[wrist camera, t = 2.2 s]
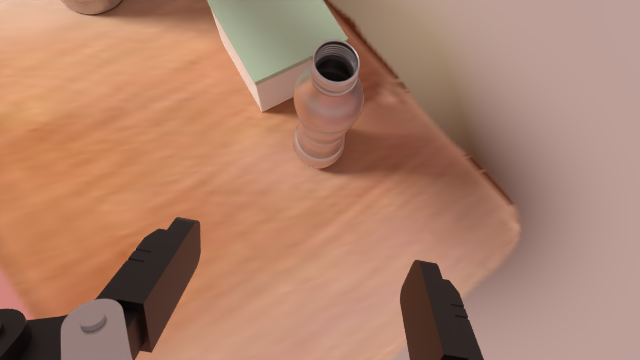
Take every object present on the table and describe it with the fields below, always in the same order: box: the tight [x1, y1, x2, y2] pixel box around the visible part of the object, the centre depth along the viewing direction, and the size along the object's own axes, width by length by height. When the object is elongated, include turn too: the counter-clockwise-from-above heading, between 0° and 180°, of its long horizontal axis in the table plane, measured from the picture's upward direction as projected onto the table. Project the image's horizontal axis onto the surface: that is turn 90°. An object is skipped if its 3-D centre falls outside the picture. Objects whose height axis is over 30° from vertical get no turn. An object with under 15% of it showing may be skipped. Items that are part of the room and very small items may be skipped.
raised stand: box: [207, 0, 348, 112], centre depth 42 cm, size 12×13×8 cm
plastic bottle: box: [293, 39, 364, 168], centre depth 33 cm, size 6×7×20 cm
